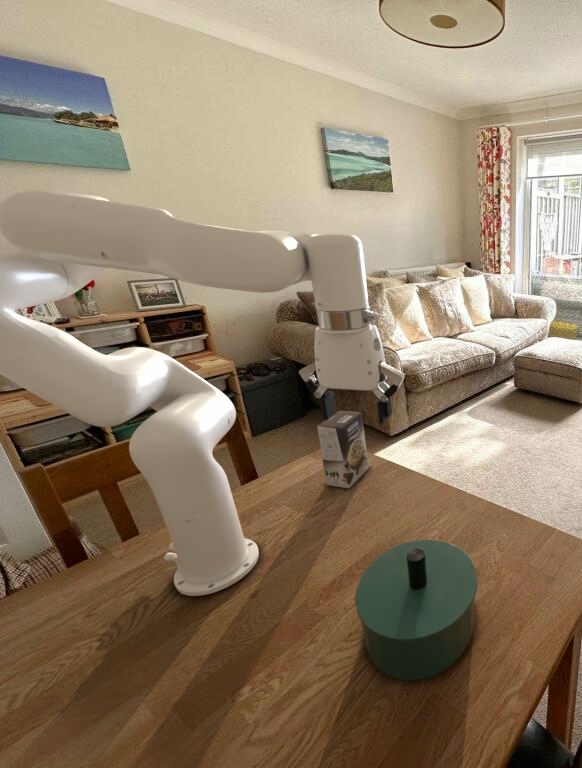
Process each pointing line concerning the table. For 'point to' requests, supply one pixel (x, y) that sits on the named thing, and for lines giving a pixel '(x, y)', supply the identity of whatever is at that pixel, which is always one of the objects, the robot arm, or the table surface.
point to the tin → (421, 651)
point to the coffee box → (343, 448)
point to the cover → (416, 590)
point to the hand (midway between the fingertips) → (357, 418)
